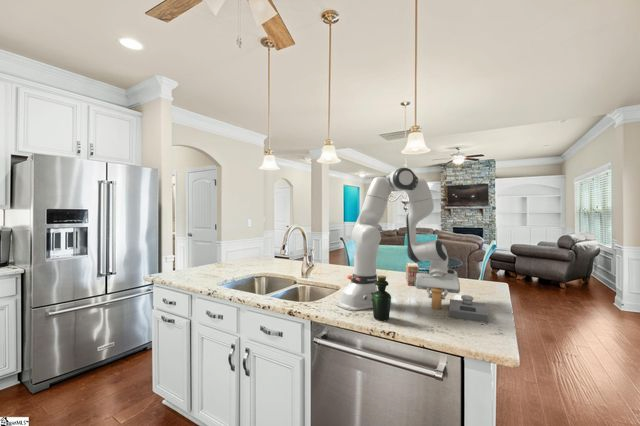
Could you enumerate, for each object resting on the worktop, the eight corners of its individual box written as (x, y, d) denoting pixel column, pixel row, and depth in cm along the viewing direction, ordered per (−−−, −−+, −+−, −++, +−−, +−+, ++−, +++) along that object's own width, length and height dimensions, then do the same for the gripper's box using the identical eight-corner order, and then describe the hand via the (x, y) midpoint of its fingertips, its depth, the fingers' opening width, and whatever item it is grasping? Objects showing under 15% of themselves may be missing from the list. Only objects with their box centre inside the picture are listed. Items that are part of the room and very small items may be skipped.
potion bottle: (386, 314, 135) (387, 274, 135) (393, 321, 127) (394, 278, 127) (369, 315, 134) (369, 274, 134) (375, 322, 126) (375, 278, 126)
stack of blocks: (405, 278, 207) (405, 260, 207) (415, 278, 206) (415, 260, 205) (408, 286, 186) (408, 265, 186) (418, 286, 185) (419, 266, 185)
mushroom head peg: (438, 310, 141) (438, 291, 141) (428, 307, 145) (428, 288, 145) (444, 308, 144) (444, 289, 144) (434, 305, 148) (435, 287, 148)
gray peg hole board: (488, 322, 127) (488, 308, 127) (448, 316, 133) (449, 303, 133) (484, 309, 143) (484, 297, 143) (449, 305, 149) (450, 293, 149)
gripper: (416, 268, 155) (413, 291, 146) (460, 271, 147) (460, 297, 138) (417, 275, 159) (414, 298, 150) (460, 279, 151) (459, 304, 142)
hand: (436, 298), depth 144 cm, fingers closed on mushroom head peg, 4 cm apart
